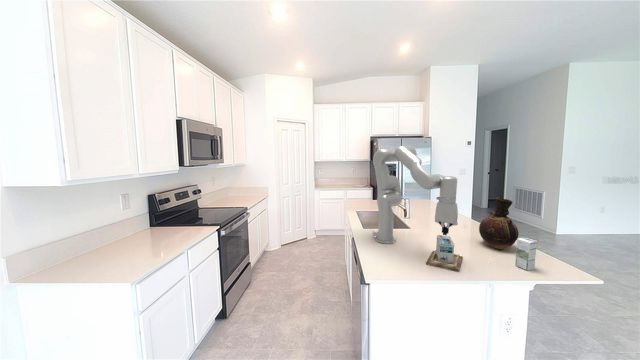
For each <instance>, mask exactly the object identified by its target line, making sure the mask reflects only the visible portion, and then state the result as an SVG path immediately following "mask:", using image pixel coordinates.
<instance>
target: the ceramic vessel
mask: <svg viewBox="0 0 640 360" xmlns="http://www.w3.org/2000/svg"><path fill="white" fill-rule="evenodd" d="M513 203H514V201H512V200H510V199H508V198H501V197H495V209H494V211H490V212H489V213H490V214H489V215H488V216H487V217H485V218H483V220H481V222H480V223H479V226H478V231H479V235H480V237H481V238H482V240H483V241H484V242H485V244H486V245H488V246H489V247H491V248H494V249H500V250H505V249H508V248H510V247H512V246H513V245H514V244H515V243H517V239H519V229H518V227H517V226H516V224H515V222H514V221H512V219H511V218H510V217H509V214H510V211H509V209H510V207H511V206H512V205H513Z"/></svg>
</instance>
